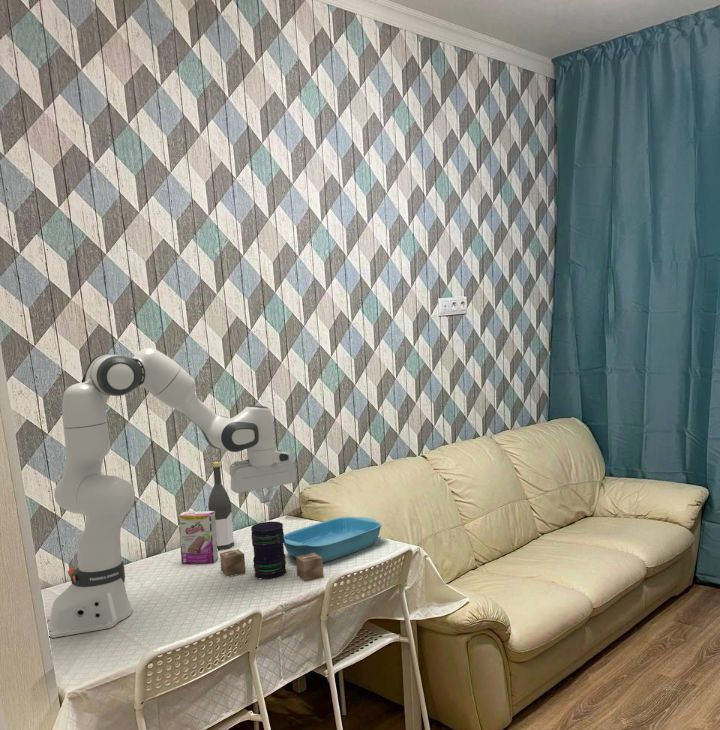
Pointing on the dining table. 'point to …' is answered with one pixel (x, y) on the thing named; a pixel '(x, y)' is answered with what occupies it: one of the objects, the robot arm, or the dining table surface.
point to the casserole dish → (333, 537)
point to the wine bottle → (221, 511)
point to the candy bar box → (198, 537)
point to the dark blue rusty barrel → (268, 550)
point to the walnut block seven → (232, 562)
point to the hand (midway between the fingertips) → (265, 502)
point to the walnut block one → (309, 566)
